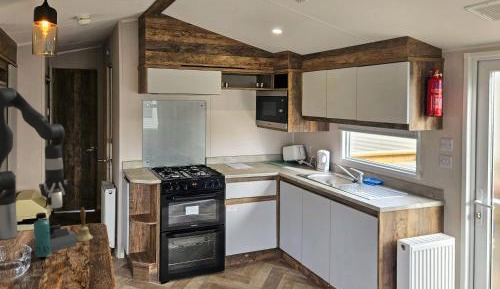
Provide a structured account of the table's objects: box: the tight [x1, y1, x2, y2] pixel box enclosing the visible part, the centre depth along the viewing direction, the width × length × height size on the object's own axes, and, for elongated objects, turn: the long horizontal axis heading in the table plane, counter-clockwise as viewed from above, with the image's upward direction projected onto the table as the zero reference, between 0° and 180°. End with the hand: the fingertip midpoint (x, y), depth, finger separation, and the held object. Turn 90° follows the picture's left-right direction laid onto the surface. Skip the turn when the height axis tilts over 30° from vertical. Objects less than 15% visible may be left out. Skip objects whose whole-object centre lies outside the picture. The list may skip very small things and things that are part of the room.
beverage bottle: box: [33, 212, 52, 258], centre depth 188 cm, size 6×7×20 cm
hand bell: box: [76, 206, 94, 242], centre depth 213 cm, size 8×8×16 cm
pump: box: [49, 189, 63, 209], centre depth 199 cm, size 5×5×8 cm
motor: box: [49, 224, 78, 253], centre depth 200 cm, size 17×8×10 cm, turn 138°
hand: (55, 203), depth 199 cm, fingers closed on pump, 5 cm apart
